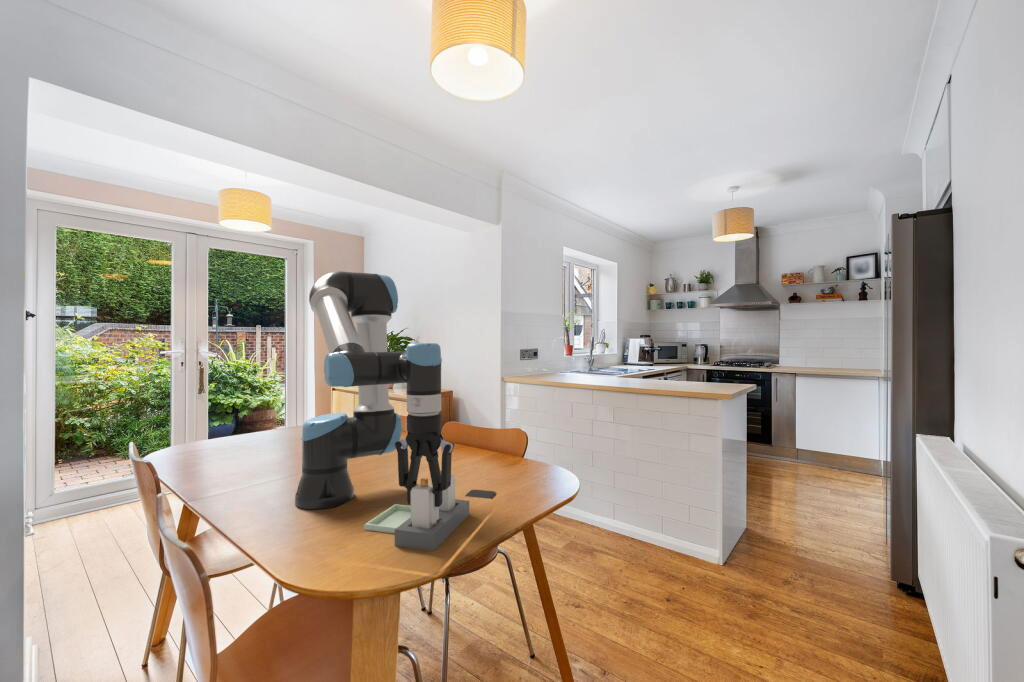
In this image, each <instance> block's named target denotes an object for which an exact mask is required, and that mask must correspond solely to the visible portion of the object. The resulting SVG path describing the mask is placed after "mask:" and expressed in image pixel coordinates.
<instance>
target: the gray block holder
mask: <svg viewBox="0 0 1024 682" xmlns="http://www.w3.org/2000/svg"><path fill="white" fill-rule="evenodd" d="M469 516H470V500H465V499H457V498H456V475H453V474H451V485H450V487H448V488H447V489H446V490H443V491H442V505H441V506H439V519H438V520H437V524H436V525H435V526H434V527H432V528H431V529H426V528H418V527H412V521H411V517H410V518H409V519H408V520H406V521H405V522H404V523H403V524H401V525H400V526H399V527H397V528H396V529H395V534H394V547H400V548H401V547H402V548H408V549H415V550H423V551H428V552H429V551H431V552H434V551H435V550H436V549H437V548H438V547H439V546H440V545H442V544H443V542H444V541H446V539H447V538H448V537H449V536H450V535H451V534H452V533H453V532H454V531H455V530H456V529H457V528H458V527H459V526H460V525H461V524H462V523H463V522H464V521H465V520H466V519H467V518H468V517H469Z"/></svg>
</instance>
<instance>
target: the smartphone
mask: <svg viewBox="0 0 1024 682" xmlns="http://www.w3.org/2000/svg"><path fill="white" fill-rule="evenodd" d="M496 493H497V492H496V491H494V490H484V489H471V490H469V491H468V492H467V493H466V494H465V495H464V497H467V498H468V497H469V498H479V499H480V498H481V499H490V500H492V499H493V498H494V497H495V495H497V494H496Z"/></svg>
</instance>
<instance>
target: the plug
mask: <svg viewBox="0 0 1024 682" xmlns="http://www.w3.org/2000/svg"><path fill="white" fill-rule="evenodd" d="M417 484H418V485H416V486H415V487H413V488H412V527H418V528H426V529H431V528H432V527H434V526H435V525H436V524H437V521H436V522H435V523H430V493H431V492H432V491H433V486H432V483H429V479H428V478H426V477H424V478H421V479H420V483H417Z"/></svg>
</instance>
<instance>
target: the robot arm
mask: <svg viewBox="0 0 1024 682" xmlns="http://www.w3.org/2000/svg"><path fill="white" fill-rule="evenodd" d="M398 294H399V293H398V289H397V285H396V283H395V282H394V280H393V278H391V277H390V276H389V275H385V274H378V273H367V272H349V271H341V270H340V271H333V272H332V271H331V272H329V273H326V274H325V275H323V276H321V277H320V278H318V280H317V281H316V282H314V283H313V285H312V287H311V289H310V291H309V297H308V301H309V306H310V309H311V311H312V312H313V313H314V315H316V317H317V318H318V321H319V323H320V328H321V331H322V334H323V336H324V340H325V343H326V346H327V350H328V353H327V354H326V355H325V356H324V361H323V374H324V381H325V384H327V386H329V387H332V388H333V387H334V388H335V387H336V388H337V387H342V388H350V387H358V388H357V389H358V393H357V395H358V405H357V406H356V407H354V409H353V411H352V412H353V416H352V417H351V416H348V414H347V413H345V412H335V413H334V412H333V413H327V414H326V413H325V414H322V415H318V416H315V417H311V418H309V419H307V420H306V421H305V422H304V423H303V424H302V429H301V430H302V431H301V437H300V440H301V466H302V467H301V476H300V479H299V483H298V485H297V490H296V492H295V496H294V504H295V506H296V507H297V508H300V509H303V510H304V509H305V510H320V509H321V510H322V509H327V508H328V509H329V508H334V507H338V506H341V505H344V504H346V503H348V502H350V501H351V500H353V498H354V497H355V488H354V485H353V483H352V479H351V476H350V474H349V470H348V460H350V459H357V458H363V457H364V458H365V457H370V456H382V455H384V454H390V453H393V452H394V451H396V452H397V472H398V485H399V487H401V488H402V487H403V488H405V489H406V492H407V493H406V494H407V495H406V496H407V498H406V500H407V505H410V506H411V521H412V488H413V487H415V486H416V485H418V484H419V483H417V482H418V477H419V473H420V466H421V461H422V458H423V457H425V460H426V462H427V464H428V470H429V474H430V479H431V484H432V486H433V491H432V492H431V493H430V523H435V522H436V521H437V520H438V519H439V506H441V505H442V491H443V490H446V489H447V488H448V487H450V485H451V475H452V457H453V456H452V453H453V451H454V447H455V443H454V442H448V441H446V440H444V437H443V435H442V430H443V429H442V427H443V426H442V424H443V423H442V414H441V413H440V412H441V411H442V362H443V358H442V353H441V350H442V349H441V346H440V345H439V344H438V343H436V342H430V343H429V342H427V343H424V342H423V343H421V342H420V343H418V342H417V343H416V342H414V343H412V342H411V343H408V344H407V345H406V350H401V351H388V329H387V327H388V325H387V324H388V322H390V321H391V320H392V314H394V313H396V312H397V310H398V303H399V295H398ZM354 323H356V327H355V325H354ZM396 384H399V385H400V384H406V412H407V413H408V414H407V416H406V432H407V434H406V436H405V438H404V439H401V438H402V432H403V424H402V418H401V415H400V414H399V413H398V412H395V407H394V406H393V405H392V404H391V403H390V401H389V400H390V399H389V397H390V396H389V385H396ZM408 448H409V449H410V450H411V451H410V457H409V449H408ZM440 448H441V449H440ZM439 449H440V450H441V452H442V454H441V469H440V464H439V463H440V462H439V452H438V450H439ZM409 458H410V464H409Z"/></svg>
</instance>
